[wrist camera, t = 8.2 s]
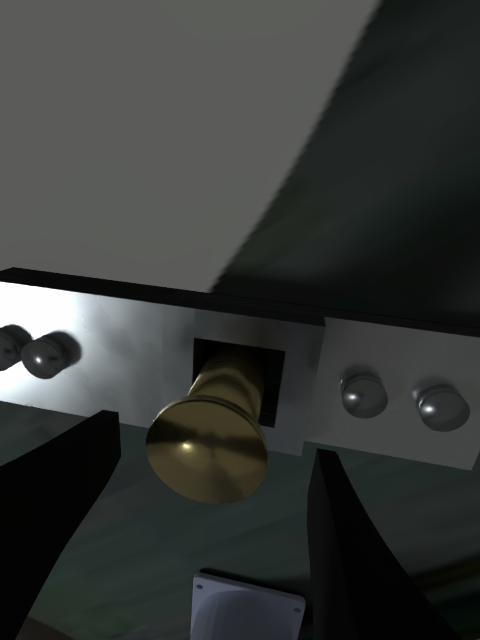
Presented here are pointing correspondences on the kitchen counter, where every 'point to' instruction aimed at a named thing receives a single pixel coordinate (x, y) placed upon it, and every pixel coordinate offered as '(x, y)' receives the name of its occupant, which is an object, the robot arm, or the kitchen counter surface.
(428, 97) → the kitchen counter surface
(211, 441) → the pin
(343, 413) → the square window plate
